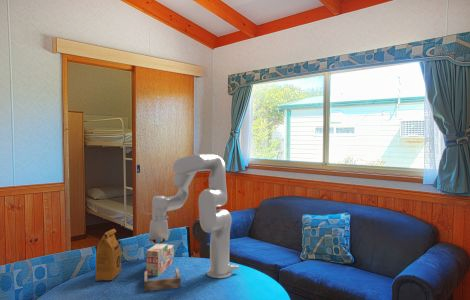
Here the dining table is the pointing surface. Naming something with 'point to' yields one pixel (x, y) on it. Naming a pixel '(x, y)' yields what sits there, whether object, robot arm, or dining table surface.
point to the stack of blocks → (159, 258)
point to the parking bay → (162, 282)
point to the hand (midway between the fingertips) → (158, 250)
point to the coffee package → (108, 257)
